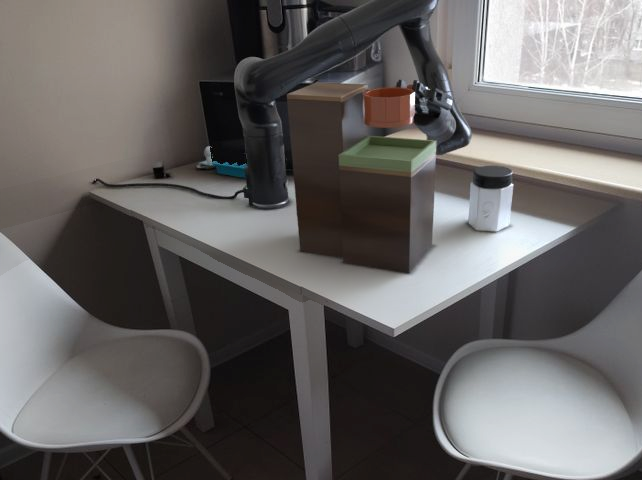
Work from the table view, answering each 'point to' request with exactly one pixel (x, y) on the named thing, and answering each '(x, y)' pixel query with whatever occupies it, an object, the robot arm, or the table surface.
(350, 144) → the stand
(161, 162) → the wireless earbuds
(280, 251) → the table surface
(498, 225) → the jar
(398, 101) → the saucepan
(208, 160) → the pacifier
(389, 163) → the tray
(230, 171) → the ice cube tray
